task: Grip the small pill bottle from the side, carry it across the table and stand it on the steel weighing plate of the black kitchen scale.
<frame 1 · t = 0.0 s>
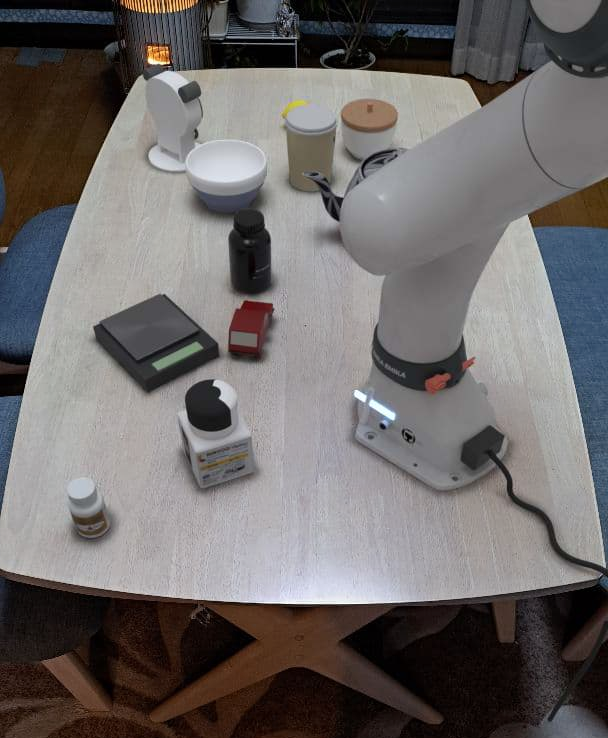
teapot: (388, 235, 142), on the table
white device on stand: (179, 157, 157), on the table
toy truck: (252, 337, 126), on the table
bowl: (228, 201, 148), on the table
supplement bottle: (251, 283, 134), on the table
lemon: (299, 130, 163), on the table
pill bottle: (94, 526, 105), on the table
scale: (157, 347, 124), on the table
trinket box: (366, 153, 158), on the table
container: (218, 462, 111), on the table
coffee cup: (310, 181, 152), on the table
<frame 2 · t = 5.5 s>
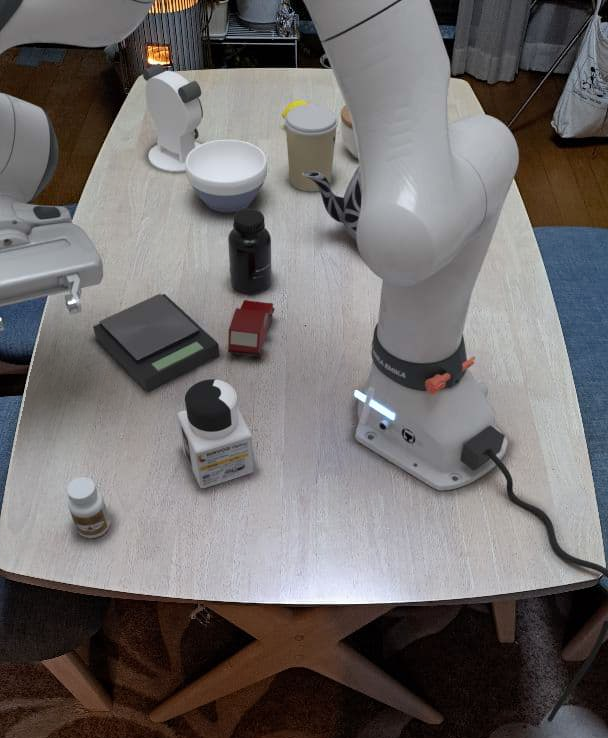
hand: (37, 318, 97), 21 cm above the table, tool horizontal, fingers open, 8 cm apart
nothing on the table moved.
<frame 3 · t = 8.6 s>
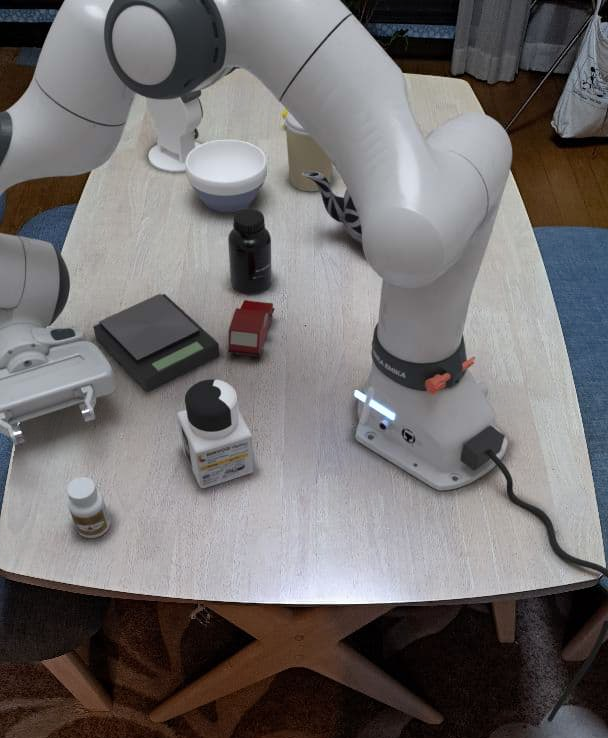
hand: (54, 428, 104), 7 cm above the table, tool horizontal, fingers open, 8 cm apart
nothing on the table moved.
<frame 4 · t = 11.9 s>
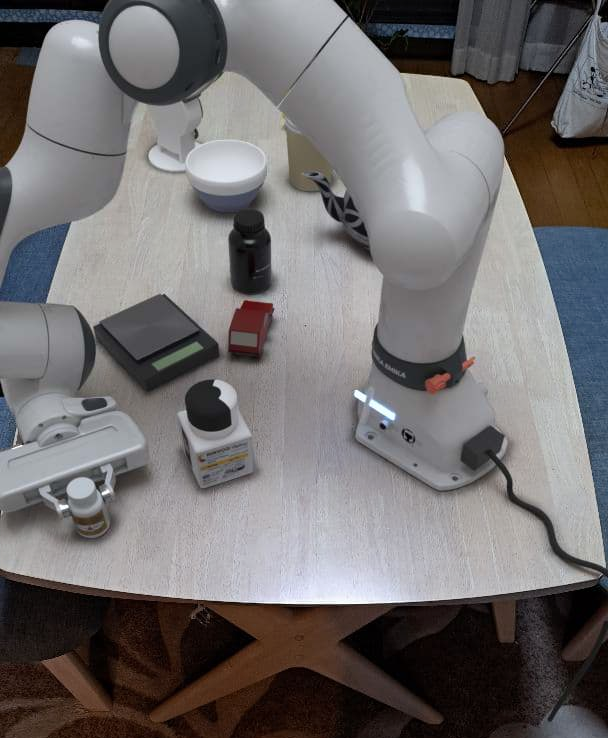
hand: (87, 506, 100), 5 cm above the table, tool horizontal, fingers closed on pill bottle, 4 cm apart
pill bottle: (93, 526, 105), on the table, touching gripper
everything else where it was.
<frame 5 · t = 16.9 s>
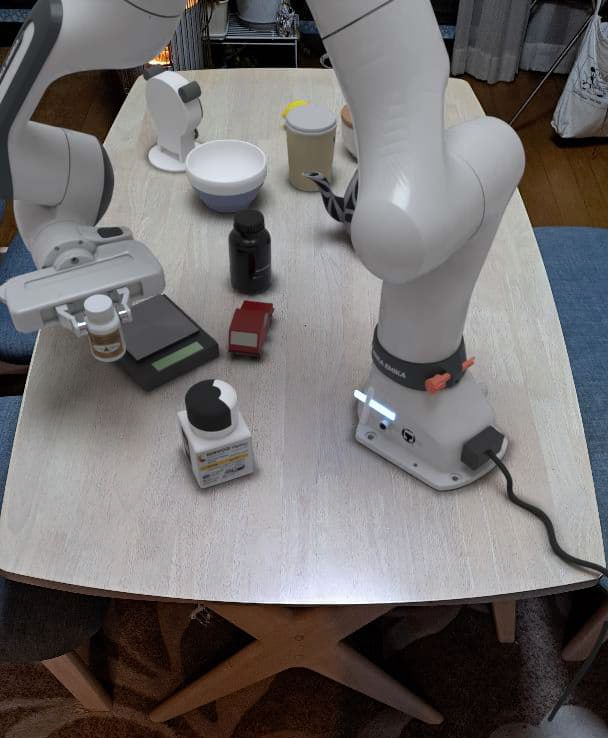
hand: (104, 325, 100), 18 cm above the table, tool horizontal, fingers closed on pill bottle, 4 cm apart
pill bottle: (109, 352, 105), point 13 cm above the table, touching gripper
everything else where it was.
when the fingers open (8 cm above the table, at t = 22.2 s): pill bottle stays where it is, resting on scale.
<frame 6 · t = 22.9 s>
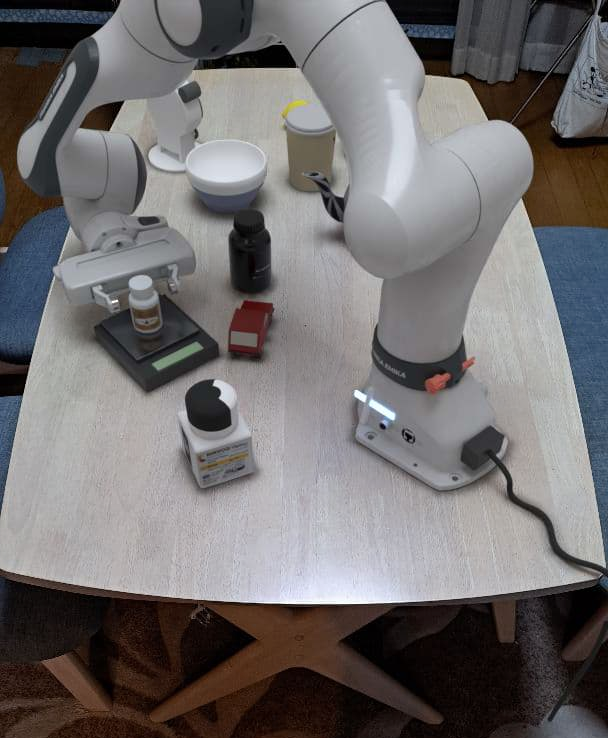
hand: (145, 298, 118), 9 cm above the table, tool horizontal, fingers open, 8 cm apart
pill bottle: (148, 326, 123), point 3 cm above the table, touching scale
everything else where it was.
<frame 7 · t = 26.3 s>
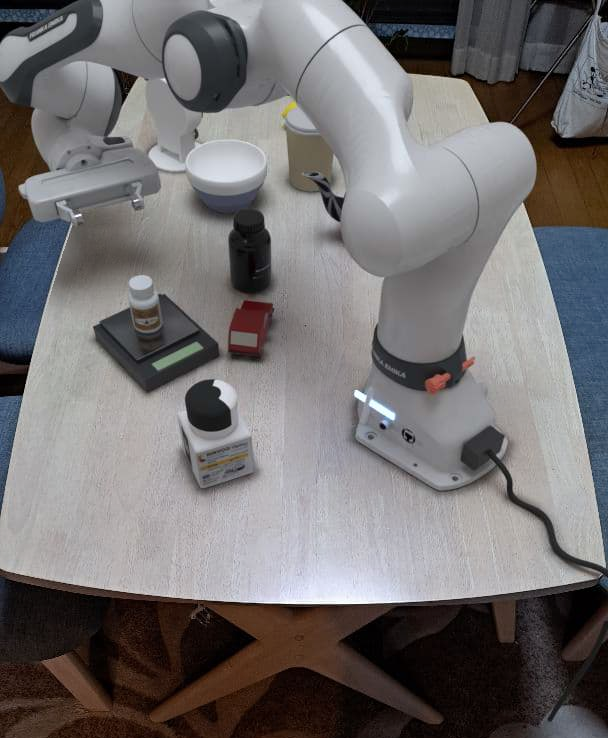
hand: (109, 213, 119), 15 cm above the table, tool horizontal, fingers open, 8 cm apart
nothing on the table moved.
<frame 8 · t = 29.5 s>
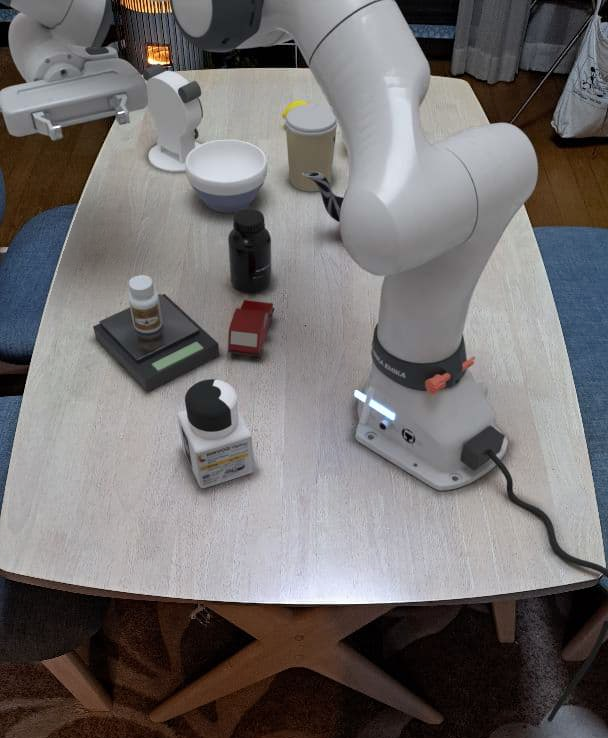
hand: (91, 126, 109), 28 cm above the table, tool horizontal, fingers open, 8 cm apart
nothing on the table moved.
at the end: pill bottle inside the target area on the scale (0.1 cm from its centre), point 3.1 cm above the scale's base; pill bottle tilted 0°; the gripper is holding nothing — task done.
